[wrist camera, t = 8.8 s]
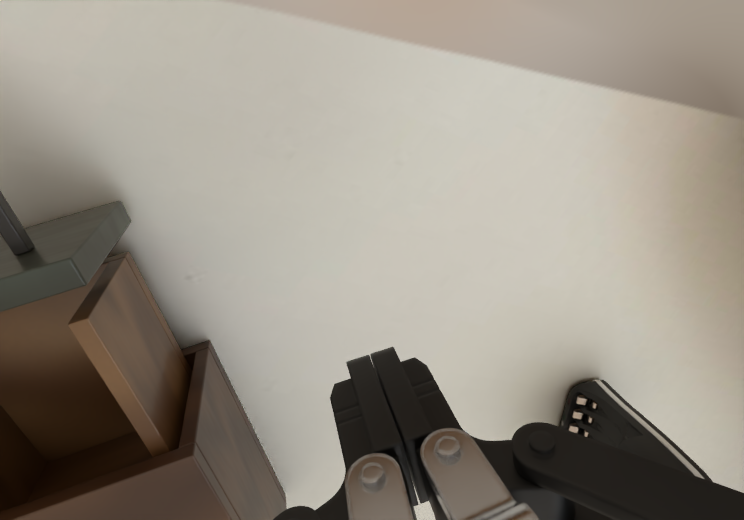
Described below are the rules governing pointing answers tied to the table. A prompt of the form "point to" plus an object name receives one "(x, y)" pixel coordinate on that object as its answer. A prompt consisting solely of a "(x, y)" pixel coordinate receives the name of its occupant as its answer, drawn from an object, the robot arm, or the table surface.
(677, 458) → the battery charger
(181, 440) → the cabinet
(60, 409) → the drawer
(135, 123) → the table surface
